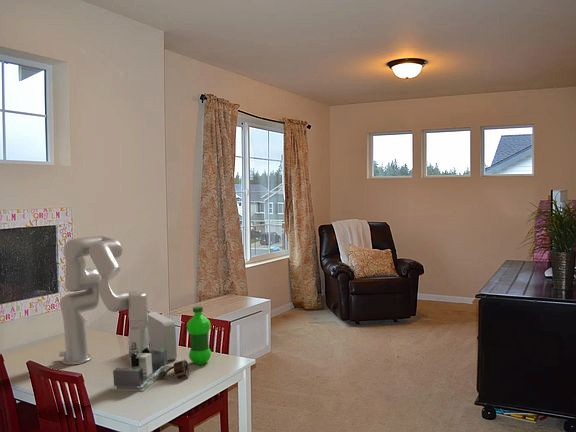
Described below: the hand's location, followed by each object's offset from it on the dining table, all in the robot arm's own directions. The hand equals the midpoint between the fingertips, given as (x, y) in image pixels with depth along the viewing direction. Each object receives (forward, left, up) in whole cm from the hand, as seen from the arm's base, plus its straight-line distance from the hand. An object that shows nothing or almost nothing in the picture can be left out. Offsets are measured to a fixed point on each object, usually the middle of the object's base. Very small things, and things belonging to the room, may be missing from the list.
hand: (140, 363), depth 220 cm
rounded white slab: (-6, +31, -7) cm, 32 cm away
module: (0, 0, -4) cm, 4 cm away
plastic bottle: (+18, +20, -6) cm, 28 cm away
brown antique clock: (+14, +3, -7) cm, 16 cm away
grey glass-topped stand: (0, 0, -6) cm, 6 cm away
